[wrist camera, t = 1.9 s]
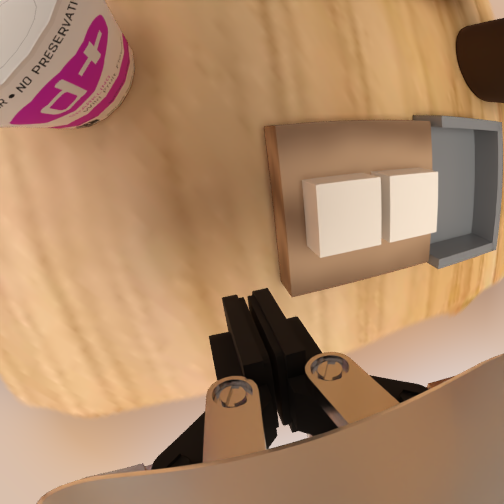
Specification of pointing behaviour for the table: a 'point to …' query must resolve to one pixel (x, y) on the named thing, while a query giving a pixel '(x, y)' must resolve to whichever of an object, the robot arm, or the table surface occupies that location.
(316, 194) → the tile
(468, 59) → the olive oil
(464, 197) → the box
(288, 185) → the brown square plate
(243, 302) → the robot arm
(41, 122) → the supplement can
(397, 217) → the tile
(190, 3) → the table surface
